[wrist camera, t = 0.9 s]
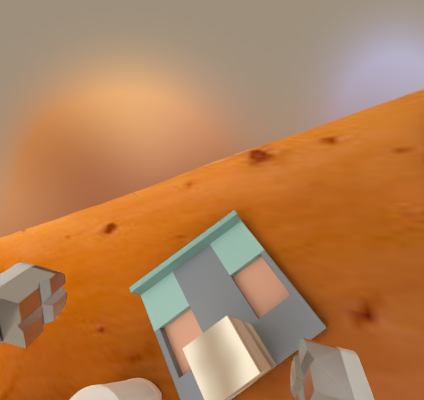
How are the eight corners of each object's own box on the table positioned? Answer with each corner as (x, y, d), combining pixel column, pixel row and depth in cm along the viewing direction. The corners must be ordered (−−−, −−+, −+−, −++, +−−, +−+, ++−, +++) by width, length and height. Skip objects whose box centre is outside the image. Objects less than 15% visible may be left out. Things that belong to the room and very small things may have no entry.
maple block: (251, 324, 38) (226, 315, 28) (276, 365, 35) (259, 373, 24) (219, 348, 38) (182, 348, 28) (241, 391, 35) (209, 411, 24)
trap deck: (240, 221, 49) (234, 209, 45) (326, 328, 37) (327, 326, 33) (144, 292, 49) (129, 287, 45) (197, 425, 36) (182, 435, 32)
